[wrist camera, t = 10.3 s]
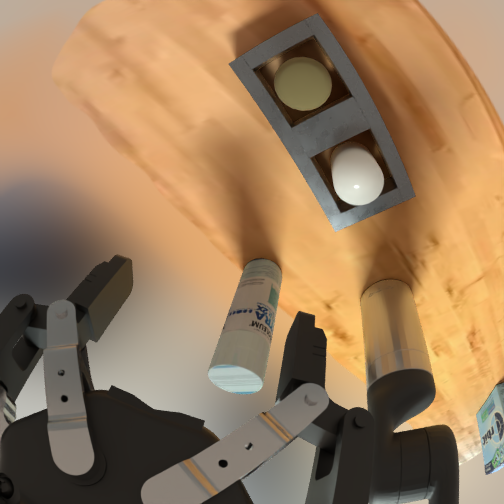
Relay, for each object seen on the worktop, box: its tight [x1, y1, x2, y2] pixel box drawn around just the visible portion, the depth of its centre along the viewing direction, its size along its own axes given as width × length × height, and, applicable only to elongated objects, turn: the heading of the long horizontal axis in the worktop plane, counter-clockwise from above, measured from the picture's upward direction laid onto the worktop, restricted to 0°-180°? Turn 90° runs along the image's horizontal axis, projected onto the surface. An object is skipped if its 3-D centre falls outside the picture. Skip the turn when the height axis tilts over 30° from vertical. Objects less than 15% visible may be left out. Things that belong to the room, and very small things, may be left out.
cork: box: [274, 57, 332, 111], centre depth 27 cm, size 6×6×11 cm
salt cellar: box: [330, 141, 384, 205], centre depth 34 cm, size 6×6×7 cm
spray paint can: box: [208, 258, 282, 394], centre depth 41 cm, size 6×6×20 cm
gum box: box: [476, 383, 504, 475], centre depth 52 cm, size 20×5×23 cm, turn 15°
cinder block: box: [229, 13, 415, 232], centre depth 32 cm, size 24×11×4 cm, turn 34°
